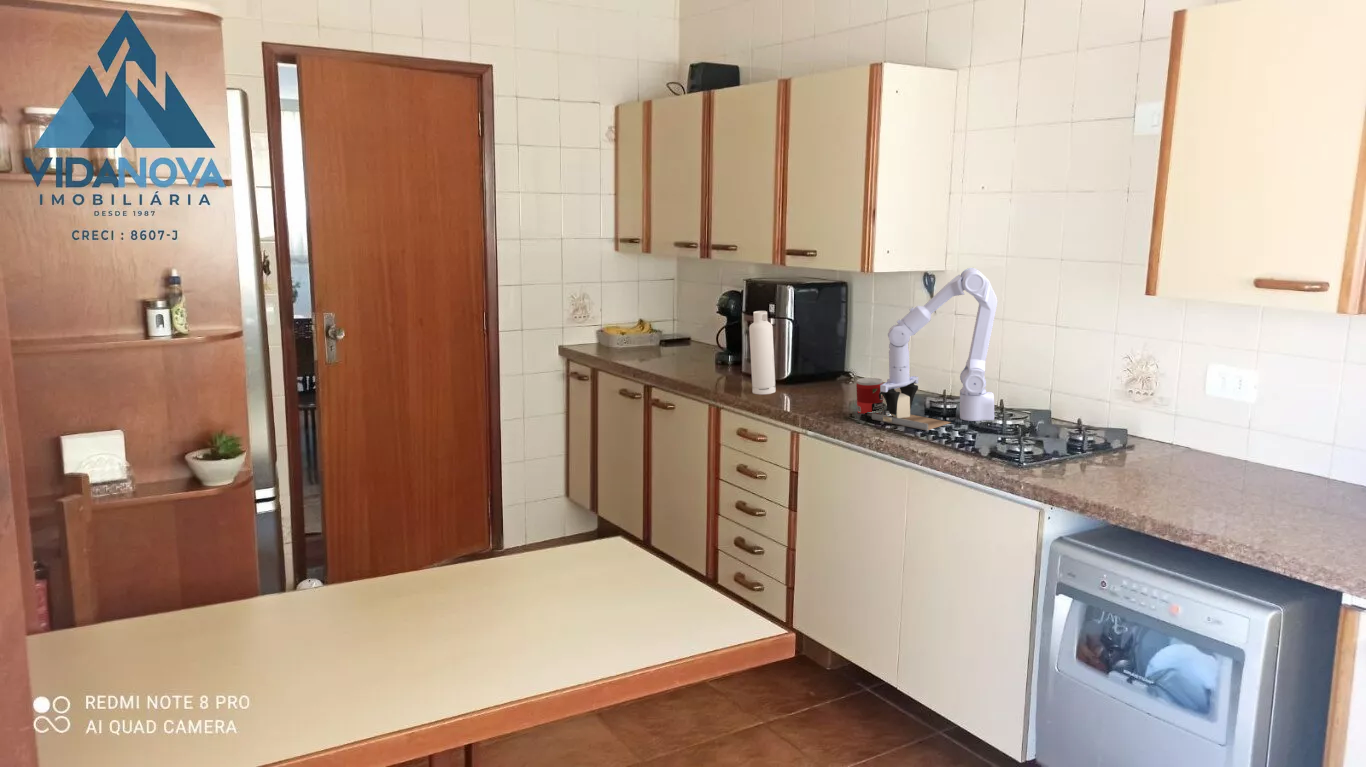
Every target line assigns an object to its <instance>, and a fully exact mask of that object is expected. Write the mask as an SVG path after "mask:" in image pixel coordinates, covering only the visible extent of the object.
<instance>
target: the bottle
mask: <svg viewBox="0 0 1366 767" xmlns="http://www.w3.org/2000/svg"><path fill="white" fill-rule="evenodd" d="M752 313H753V322H752V323H751V324H749V330H748V331H749V346H750V347H749V348H750V351H749V352H750V368H751V369H750V370H751V389H752V394H755V395H771V394H774V393H776V370H775V350H774V326H773V324H772V323H771V322H770V321H768V310H767V311H766V310H756V311H753V312H752Z"/></svg>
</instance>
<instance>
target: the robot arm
mask: <svg viewBox="0 0 1366 767" xmlns="http://www.w3.org/2000/svg"><path fill="white" fill-rule="evenodd" d="M964 291H965V292H966V293H967V294H969V295H971V296H972V297H973V298H974V299H975V300H976V301H977V303H978V306H977V312H976V318H975V322H974V323H975V324H974V327H973V328H974V329H973V333H972V337H971V342H970V348H969V352H968V353H969V354H968V357H967V360H966V362H965V366H964V368H963V369H962V370H961V372H960V376H959V380H960V382H961V384H962V388H961V389H960V390H959V418H960V419H961V420H962V421H963V420H964V421H969V422H972V421H973V422H978V421H979V422H980V421H994V420H995V394H994V393H993V392H992V391H987V389H986V387H987V381H986V377H985V374H986V360H987V357H988V352H989V346H990V345H989V344H990V342H991V335H992V331H993V326H994V321H995V317H996V311H997V306H998V298H997V297H998V296H997V295H996V293H995V291H994V288H993V287H992V284H991V281H990V280H989V279H988V278H987V277H986V276H985V275H984V274H983V273H982V272H981V271H980V270H979V269H977V268H974V267H969V268H967V269H964V270H963V271H962V272H961V274H958V275H956V276H955V277H953V278H952V279H951V280H950V281H949V282H947V284H945V285H944V286H943V287H942V288H941V289H940V290H939V291H937V293H936V294H935V295H934V296H933V297H932V298H930V299H929V300H928V301H927V302H926V303H925V304H924V305H916V306H915V307H913V306H912V307H910V308H909V312H908V313H907V314H906V315H905V316H904V317H903V318H901V319H898V320H896V323H897V324H896V323H895V324H893V325H891V327H890V328H889V330H888V333H887V337H888V340H889V344H888V349H889V350H888V365H889V366H888V367H889V368H888V371H889V375H888V376H889V378H888V379H887V381H886V382H883V384H882V385H880V391H881V394H882V395H883V400H885V403H886V406H887V409H888V412H889V413H888V414H896V413H897V402H898V397H899V394H900V393H903V394H905V395H907V396H909V397H910V410H912V404H913V401H914V398H915V396H916V393H917V391H918V390H919V385H918V384H919V376H915V375H912V376H910V372H911V371H910V350H909V342H910V339H911V337H912V336H914V335H916V334H918V332H919V331H921V330H922V329H923V328H924V327H925V326H926V325H927V324H929V323H930V322H931V320H932V314H934V313H935V312H936V311H937V310H938V309H939V308H941V307H942V306H943V305H944V304H945V303H947V302H948V301H950V300H951V299H952V298H953V297H955V296H956V297H958V296H964V295H965V292H964ZM896 389H899V390H900V391H897V390H896Z"/></svg>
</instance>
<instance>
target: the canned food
mask: <svg viewBox="0 0 1366 767" xmlns="http://www.w3.org/2000/svg"><path fill="white" fill-rule="evenodd" d="M882 384H884V381H883V379H882V378H877V377H863V378H858V379H857V380H856V385H855V386H856V410H857V411H856V413H857V412H858V413H860V414H859V415H861V414H863V415H864V414H865V413H867V412H872V411H876V410H879V409H882V408H883V409H884V397H883V395H882V394H881V391H880V385H882ZM865 415H866V414H865Z"/></svg>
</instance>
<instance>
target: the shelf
mask: <svg viewBox="0 0 1366 767" xmlns="http://www.w3.org/2000/svg"><path fill="white" fill-rule="evenodd" d="M871 419H872V420H874V421H880V422H884V423H888V424H894V425H899V426H902V427H908V428H912V429H917V430H921V431H922V430H923V431H926V432H928V431H930V430H933V429H936V428H939V427H942V426H945V425H946V426H947V425H949V424H952V422H951V421H946V420H942V419H941V420H940V419H936V418H932V417H931V418H930V417H926V416H921V415H914V414H911V413H910V417H905V418H897V417H894V416H893V417H892V416H887V414H882V413H872V414H871Z"/></svg>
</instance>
